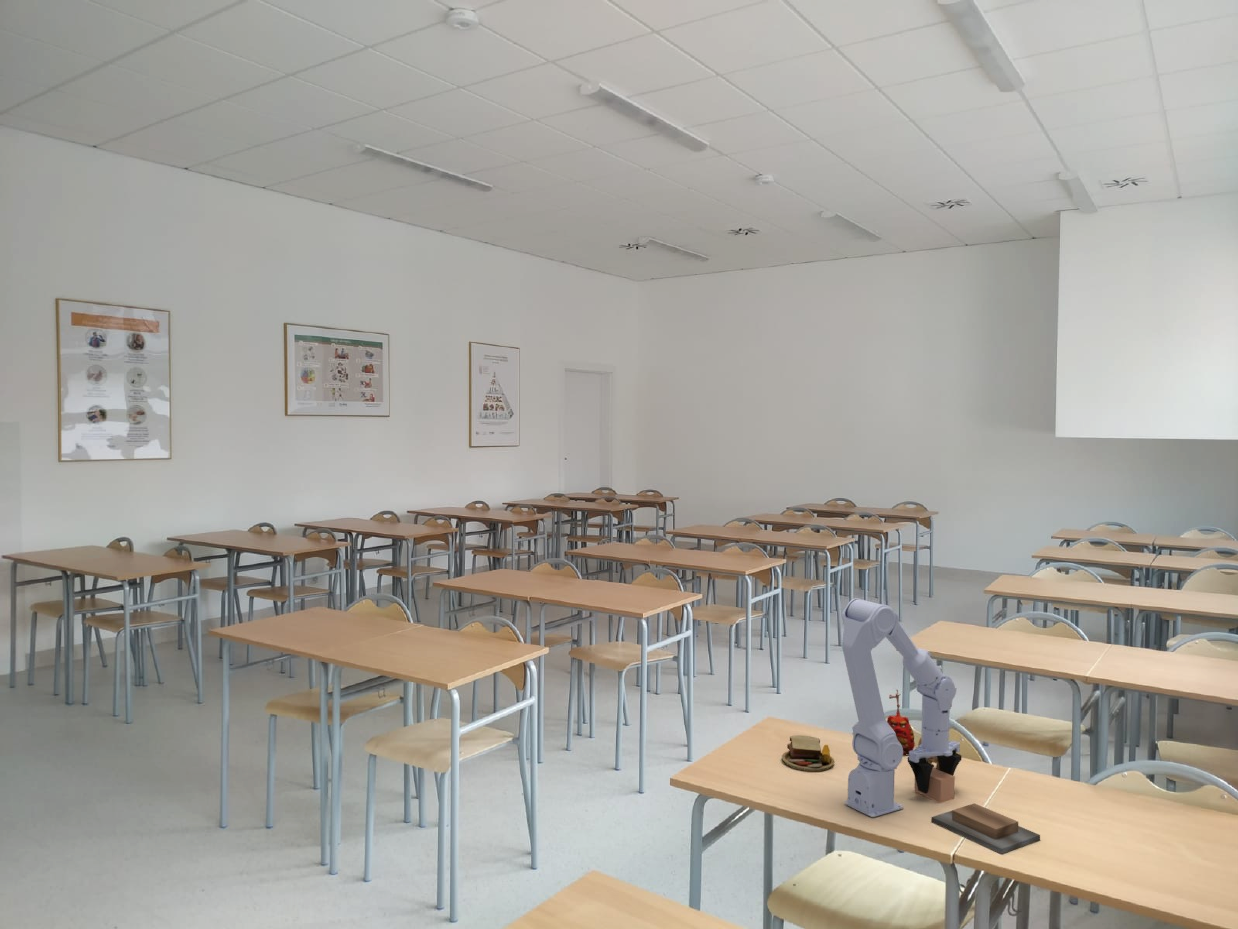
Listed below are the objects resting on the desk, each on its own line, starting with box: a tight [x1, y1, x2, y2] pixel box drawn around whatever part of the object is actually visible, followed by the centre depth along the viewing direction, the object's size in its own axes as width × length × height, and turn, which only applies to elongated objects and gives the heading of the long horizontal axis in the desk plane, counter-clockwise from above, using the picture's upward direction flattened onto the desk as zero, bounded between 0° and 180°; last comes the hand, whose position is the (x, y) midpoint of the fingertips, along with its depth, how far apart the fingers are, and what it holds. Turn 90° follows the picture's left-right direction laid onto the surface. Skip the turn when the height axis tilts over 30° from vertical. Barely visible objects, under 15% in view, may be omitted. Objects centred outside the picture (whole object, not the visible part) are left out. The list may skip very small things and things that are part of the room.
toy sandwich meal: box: [781, 734, 835, 772], centre depth 207 cm, size 12×14×5 cm
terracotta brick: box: [913, 767, 956, 804], centre depth 187 cm, size 4×7×5 cm, turn 31°
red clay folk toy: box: [886, 689, 916, 756], centre depth 215 cm, size 8×7×15 cm
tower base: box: [930, 803, 1041, 855], centre depth 170 cm, size 12×16×3 cm
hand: (934, 788), depth 188 cm, fingers open, 7 cm apart
